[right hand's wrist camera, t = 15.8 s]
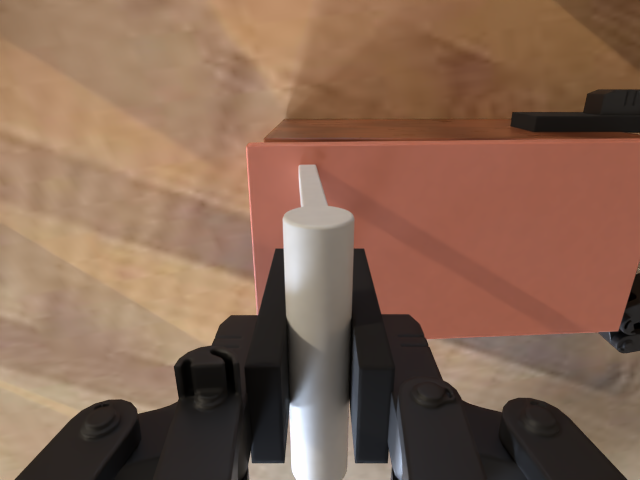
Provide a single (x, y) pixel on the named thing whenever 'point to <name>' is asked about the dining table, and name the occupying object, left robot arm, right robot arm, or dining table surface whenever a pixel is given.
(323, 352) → the lid
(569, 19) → the dining table surface
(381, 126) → the chest
